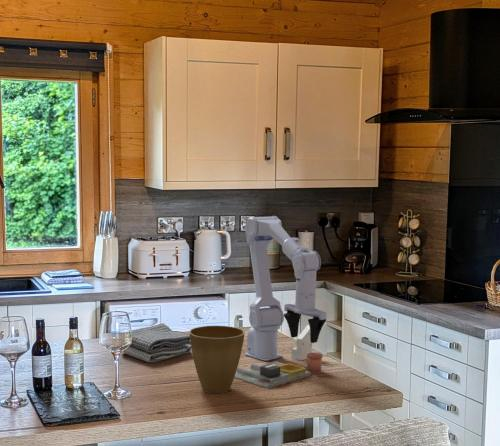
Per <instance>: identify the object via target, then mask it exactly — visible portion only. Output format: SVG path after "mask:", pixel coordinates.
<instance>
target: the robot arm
mask: <svg viewBox="0 0 500 446" xmlns="http://www.w3.org/2000/svg"><path fill="white" fill-rule="evenodd" d="M282 224H283V223H282V220H281V219H280V218H279V217H278V216H276V215H272V216H250V217H248V219H247V220H246V223H245V225H244V228H245V237H246V243H247V245H249V251H250V260H251V266H252V272H253V273H252V274H253V282H254V289H255V300H254V301H253V302H252V303H251V304H250V305H249V315H248V321H249V324H250V326H251V327H250V328H249V329H248V331H247V333H246V334H247V335H246V352H245V353H244V355H245V356H249V357H251V358H255V359H258V360H261V361H266V362H267V361H270V360H275V359H279V358H282V357H284V355H283V354H282V353H278V338H279V337H278V336H279V335H278V334H279V332H278V330H280V329H281V326H282V325H283V323H284V321H285V320H286V323H287V326H288V329H289V333H290V338H292V339H294V338H298V336H299V326H300V319H301V316H302V315H303V316H307V317H311V318H308V319H307V321H308V325H309V326H310V340H311V343H312V344H315V343H318V340H319V338H320V337H319V336H320V333H321V331H322V328H323V327H324V325H325V323H326V322H327V312H326V311H322V310H320V309H318V308H316V292H317V290H316V289H317V271H319V270H320V269H321V266H322V260H321V256H320V254H319V253H318V251H316V250H309V249H308V247H307V246H305V245H304V244H303V243H302V242H301V241H300V238H298V237H291V236H290V235H289V234H288V233H287V231H286V230H285V229H284V227H283V225H282ZM274 241H276V242H277V243H278V244H279V245H280V246H281V250H282V252H283V254H284V255H285V256H286V257H287V258H288V259H289V261H291V262H292V268H293V270H294V271H293V272H294V273H293V274H294V278H295V300H294V301H295V303H294V304H291V303H287V304H286V303H285V304H284V308H283V309H284V311H283V309H282V306H281V302H280V301H279V300H278V299H277V298H275V297H274V295H273V289H272V288H273V287H272V280H271V274H270V273H271V272H270V266H269V258H268V250H267V247H268V246H269V244H272V243H273V242H274ZM284 312H286V313H284Z"/></svg>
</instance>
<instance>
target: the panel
mask: <svg viewBox="0 0 500 446" xmlns="http://www.w3.org/2000/svg"><path fill="white" fill-rule="evenodd" d="M268 364H272V365H273V364H275V365H276V366H278V367H280V376H277V377H274V378H269V377H266V376H263V375H260V367H261V366H265V365H268ZM311 374H312V373H311V372H309V371H308V370H307V368H306V367H303V366H300V365H296V364H293V363H283V362H279V361H276V360H275V361H272V362H268V363H264V364H261V365H257V364H254V363H252V364H250V368H246V369H244V368H241V367H237V370H236V374H235V377H234V378H236V379H239V380H242V381H245V382H247V383H250V384H255V385H257V386H259V387H262V388H266V389H270V388H274V387H277V386H281V385H283V384H287V383H290V382H293V381H297V380H300V379H304V378H306V377H307V378H308V377H310V376H311Z"/></svg>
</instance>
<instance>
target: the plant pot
mask: <svg viewBox="0 0 500 446" xmlns="http://www.w3.org/2000/svg"><path fill="white" fill-rule="evenodd" d="M188 333H189V336H190V341H191V345H190V346H191V353H192V358H193V362H194V365H195V366H194V367H195V370H196V373H197V377H198V381H199V383H200V386H201V388H202V390H203V391H204V392H205V393H206V392H207V393H210V394H221V393H227V392H229V390H230V389H231V387H232V384H233V381H234V378H236V377H235V374H236V372H237V368H239V363H240V359H241V356H242V350H243V345H244V339H245V335H246V334H245V330H243V329H242V328H238V327H234V326H228V325H205V326H204V325H203V326H197V327H194V328H191V329H190V330H189V332H188Z"/></svg>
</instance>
